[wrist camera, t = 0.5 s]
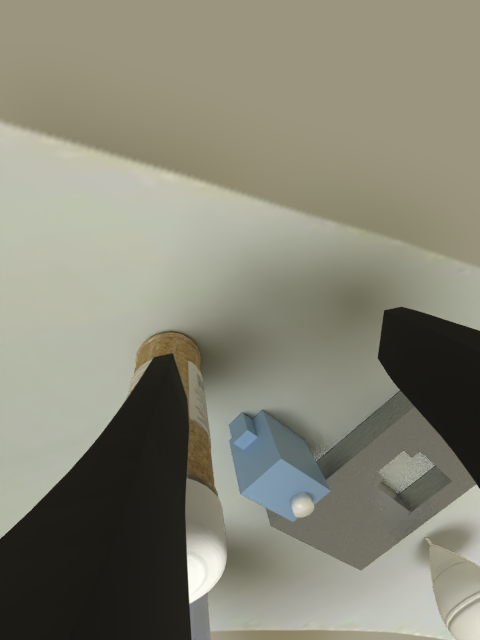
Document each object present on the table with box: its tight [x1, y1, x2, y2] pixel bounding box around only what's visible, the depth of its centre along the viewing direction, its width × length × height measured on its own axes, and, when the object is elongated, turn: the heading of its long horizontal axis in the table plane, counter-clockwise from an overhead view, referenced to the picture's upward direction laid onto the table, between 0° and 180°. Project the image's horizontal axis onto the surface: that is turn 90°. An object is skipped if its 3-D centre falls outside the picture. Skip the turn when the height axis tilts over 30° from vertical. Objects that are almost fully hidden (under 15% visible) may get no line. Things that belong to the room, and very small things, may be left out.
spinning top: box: [426, 537, 480, 640], centre depth 32 cm, size 8×8×12 cm
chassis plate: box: [266, 391, 476, 570], centre depth 30 cm, size 18×16×2 cm
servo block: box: [229, 410, 331, 522], centre depth 23 cm, size 4×7×6 cm, turn 45°
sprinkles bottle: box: [127, 332, 227, 604], centre depth 15 cm, size 5×5×14 cm
